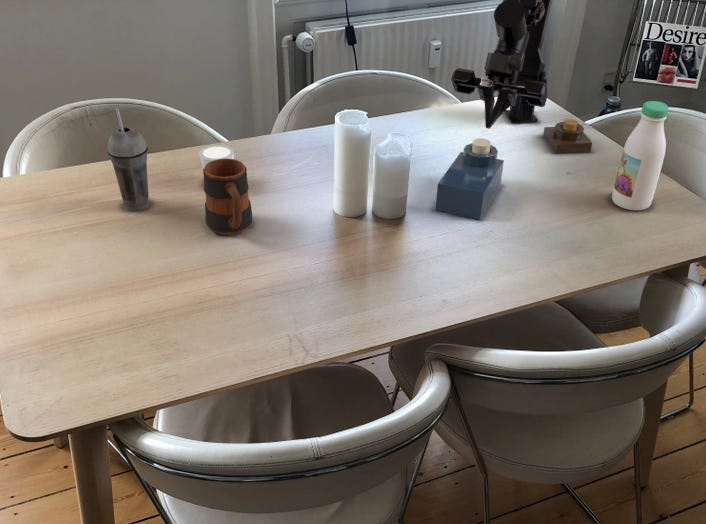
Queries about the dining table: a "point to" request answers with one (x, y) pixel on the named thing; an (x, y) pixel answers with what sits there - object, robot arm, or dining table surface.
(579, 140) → the switch block
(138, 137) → the beverage cup
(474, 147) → the white short cylinder
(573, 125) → the brass button
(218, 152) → the shot glass
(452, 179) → the blue push button box
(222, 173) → the mug
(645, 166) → the milk bottle
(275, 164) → the dining table surface
